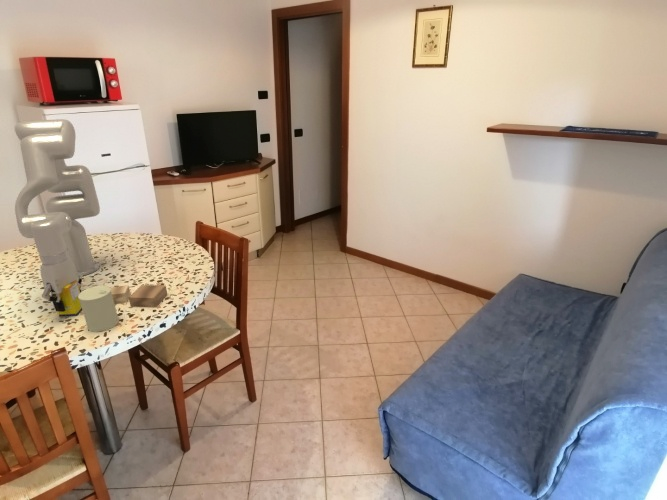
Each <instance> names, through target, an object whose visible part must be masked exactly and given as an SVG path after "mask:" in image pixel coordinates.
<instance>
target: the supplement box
mask: <svg viewBox="0 0 667 500" xmlns="http://www.w3.org/2000/svg"><path fill="white" fill-rule="evenodd" d="M63 289H64V291H63V292H62V293H61V298H60V300H61V301H63V304H64V307H65V311H64V312H60V311H56V312H57V315H58V317H59V318H60V317H74V316H75V317H76V316H78V315H79V313H81V311H83V310H82V307H81V304H80V301H79V298H78V295H79V294H80V289H81V288H80V289H79V286H78V283H77V280H75V281H73V282H72V283H70V284H69V285H67V286H65V287H64V288H63ZM53 291H54V290H53ZM54 292H55V291H54ZM56 295H57V294H55V298H56Z"/></svg>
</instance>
